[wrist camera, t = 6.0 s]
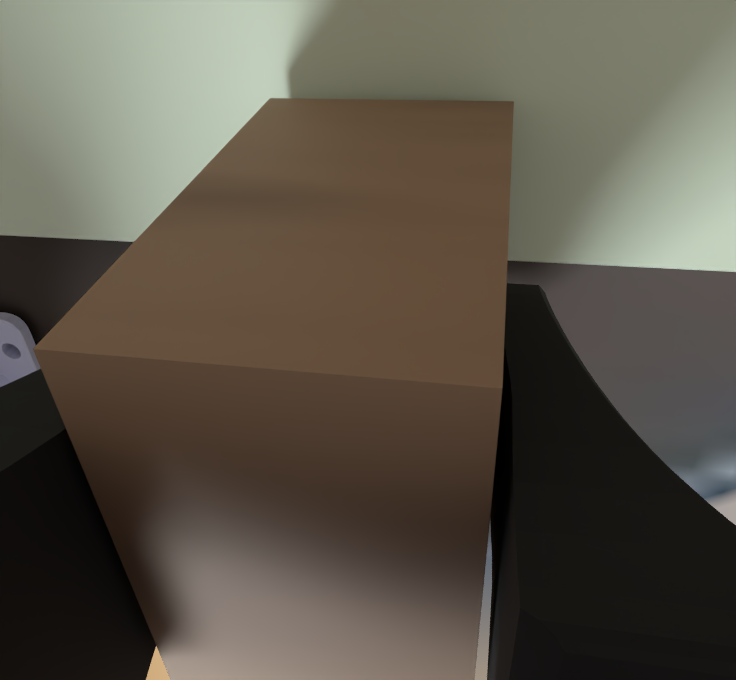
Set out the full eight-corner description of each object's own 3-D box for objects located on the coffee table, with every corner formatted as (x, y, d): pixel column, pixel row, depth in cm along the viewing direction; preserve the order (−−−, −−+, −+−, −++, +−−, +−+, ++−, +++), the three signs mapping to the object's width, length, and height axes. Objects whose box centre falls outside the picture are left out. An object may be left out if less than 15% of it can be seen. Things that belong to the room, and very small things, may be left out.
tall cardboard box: (489, 391, 14) (468, 744, 9) (304, 376, 15) (177, 694, 9) (513, 100, 11) (502, 388, 5) (270, 97, 11) (32, 349, 6)
